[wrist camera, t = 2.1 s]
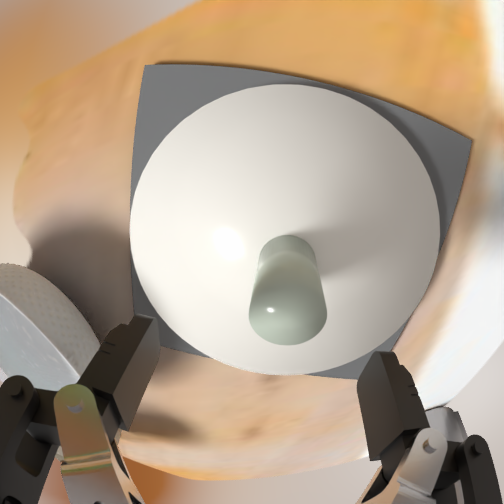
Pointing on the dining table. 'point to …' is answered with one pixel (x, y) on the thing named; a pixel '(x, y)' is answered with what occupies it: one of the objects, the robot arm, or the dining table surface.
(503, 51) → the dining table surface
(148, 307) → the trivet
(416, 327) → the dining table surface
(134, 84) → the dining table surface
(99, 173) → the dining table surface
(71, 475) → the robot arm
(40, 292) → the cereal bowl
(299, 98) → the lid
